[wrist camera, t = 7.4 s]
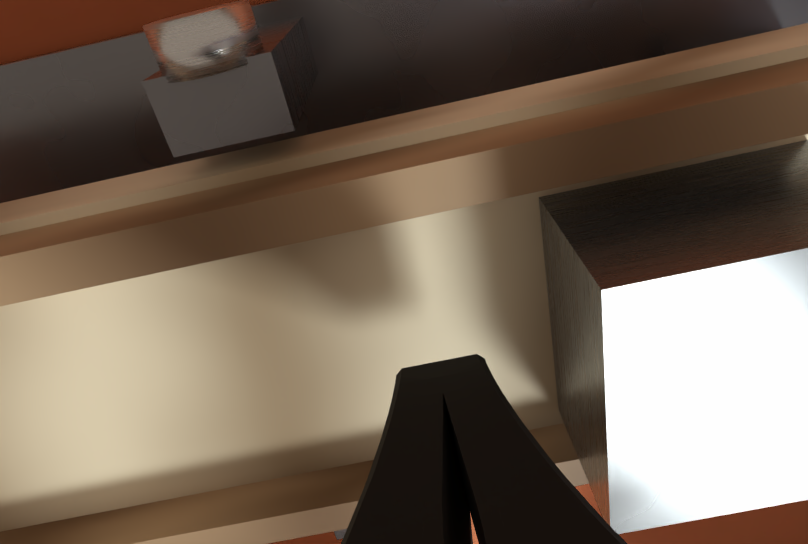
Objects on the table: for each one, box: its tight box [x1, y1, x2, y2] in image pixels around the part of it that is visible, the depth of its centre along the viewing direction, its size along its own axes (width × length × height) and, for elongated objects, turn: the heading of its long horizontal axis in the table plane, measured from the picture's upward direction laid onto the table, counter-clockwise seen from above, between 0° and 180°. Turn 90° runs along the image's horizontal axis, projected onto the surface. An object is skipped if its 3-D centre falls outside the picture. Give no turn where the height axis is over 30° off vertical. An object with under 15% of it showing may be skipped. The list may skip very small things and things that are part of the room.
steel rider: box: [539, 140, 808, 534], centre depth 10 cm, size 4×5×3 cm
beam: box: [0, 23, 808, 544], centre depth 11 cm, size 24×8×2 cm, turn 102°
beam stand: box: [0, 0, 808, 539], centre depth 13 cm, size 26×13×5 cm, turn 102°
